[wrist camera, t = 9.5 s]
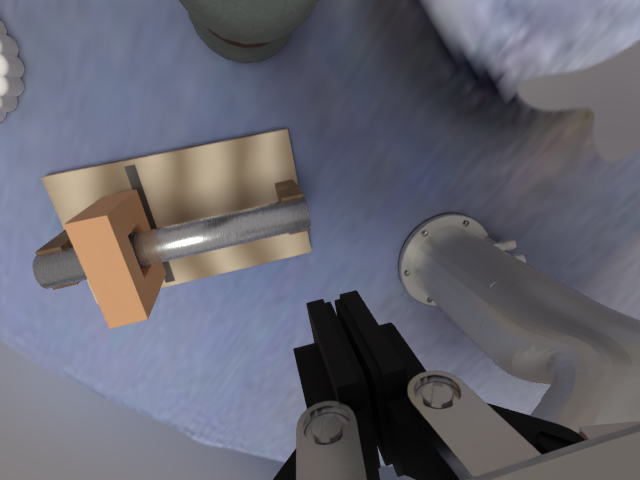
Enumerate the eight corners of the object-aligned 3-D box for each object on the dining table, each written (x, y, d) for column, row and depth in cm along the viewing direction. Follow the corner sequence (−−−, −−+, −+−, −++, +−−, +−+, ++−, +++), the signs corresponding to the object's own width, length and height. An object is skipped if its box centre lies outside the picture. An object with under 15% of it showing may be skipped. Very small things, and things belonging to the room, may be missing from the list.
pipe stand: (285, 128, 41) (297, 134, 33) (309, 247, 46) (324, 277, 38) (48, 174, 38) (-2, 193, 30) (101, 296, 43) (71, 340, 35)
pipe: (300, 192, 36) (306, 199, 34) (306, 223, 38) (312, 233, 35) (44, 247, 34) (26, 261, 31) (60, 279, 35) (43, 296, 32)
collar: (136, 189, 36) (106, 215, 28) (166, 273, 39) (147, 319, 31) (103, 196, 36) (63, 224, 28) (136, 280, 39) (109, 328, 31)
